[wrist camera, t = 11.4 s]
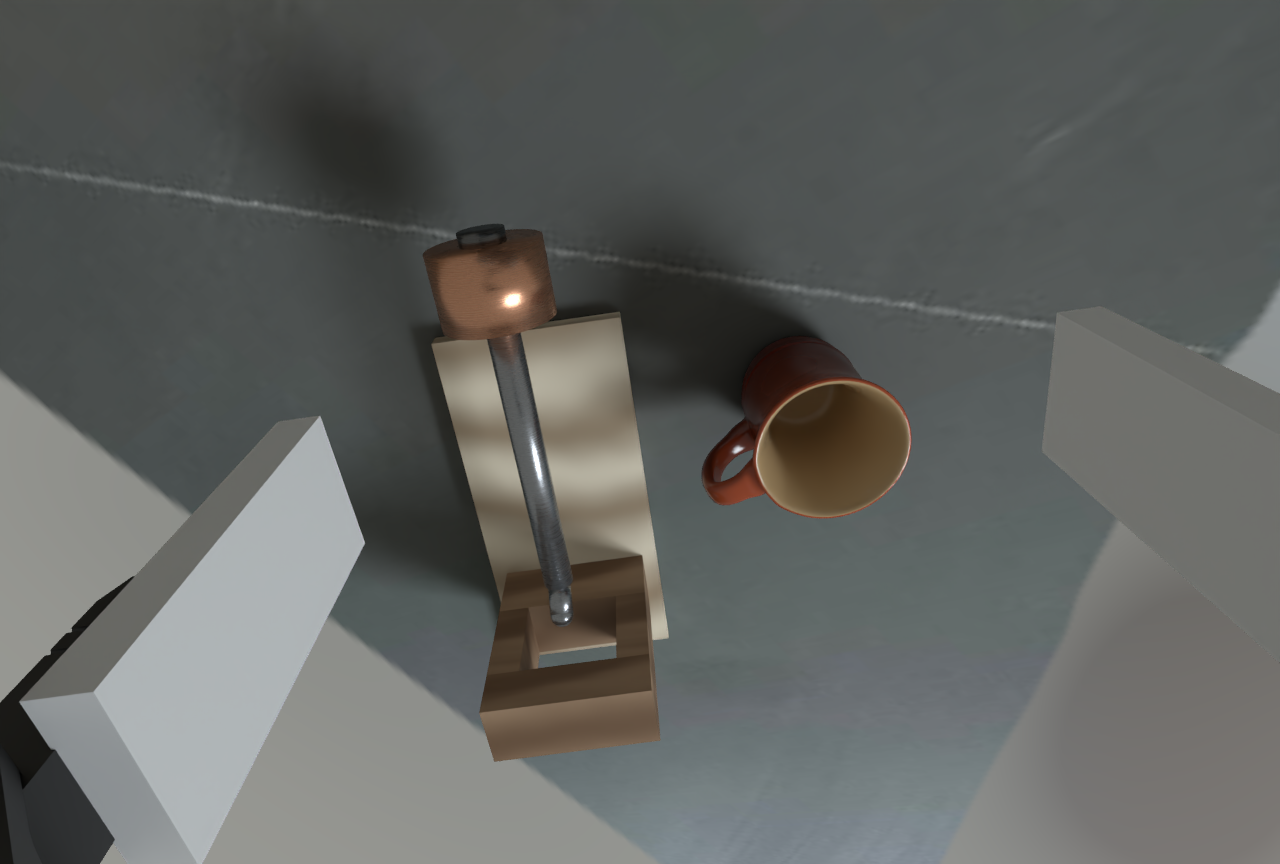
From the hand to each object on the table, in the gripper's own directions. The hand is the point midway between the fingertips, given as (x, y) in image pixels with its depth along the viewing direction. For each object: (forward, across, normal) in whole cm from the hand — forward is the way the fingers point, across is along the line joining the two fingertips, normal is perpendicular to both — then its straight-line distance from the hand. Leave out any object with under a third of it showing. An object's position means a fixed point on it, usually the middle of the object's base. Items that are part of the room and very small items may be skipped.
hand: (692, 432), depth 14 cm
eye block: (+34, -8, -28) cm, 44 cm away
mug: (+35, +7, -15) cm, 39 cm away
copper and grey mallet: (+29, -8, -12) cm, 33 cm away
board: (+35, -8, -21) cm, 41 cm away
